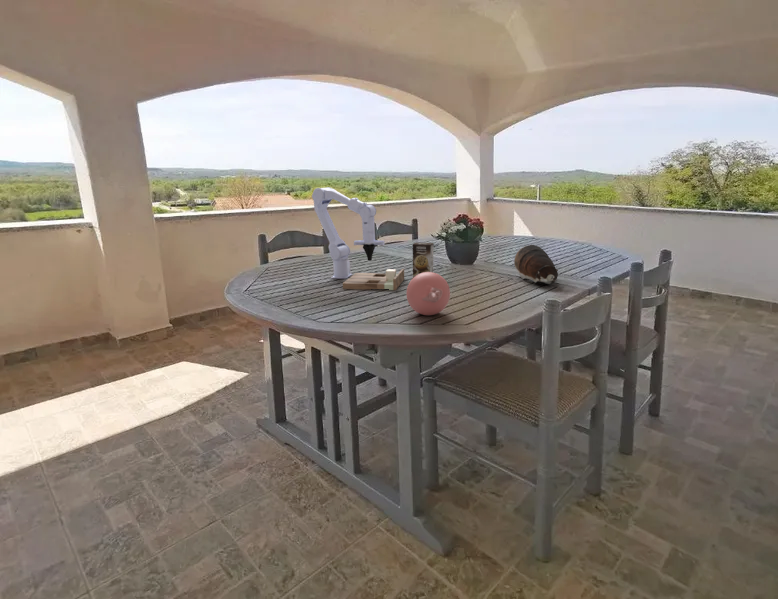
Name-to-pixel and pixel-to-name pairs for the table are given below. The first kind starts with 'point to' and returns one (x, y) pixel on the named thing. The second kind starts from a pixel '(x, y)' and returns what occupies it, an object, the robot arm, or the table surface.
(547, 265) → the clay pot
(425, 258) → the cookie box
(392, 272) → the block
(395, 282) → the deck
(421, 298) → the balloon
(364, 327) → the table surface
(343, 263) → the robot arm
